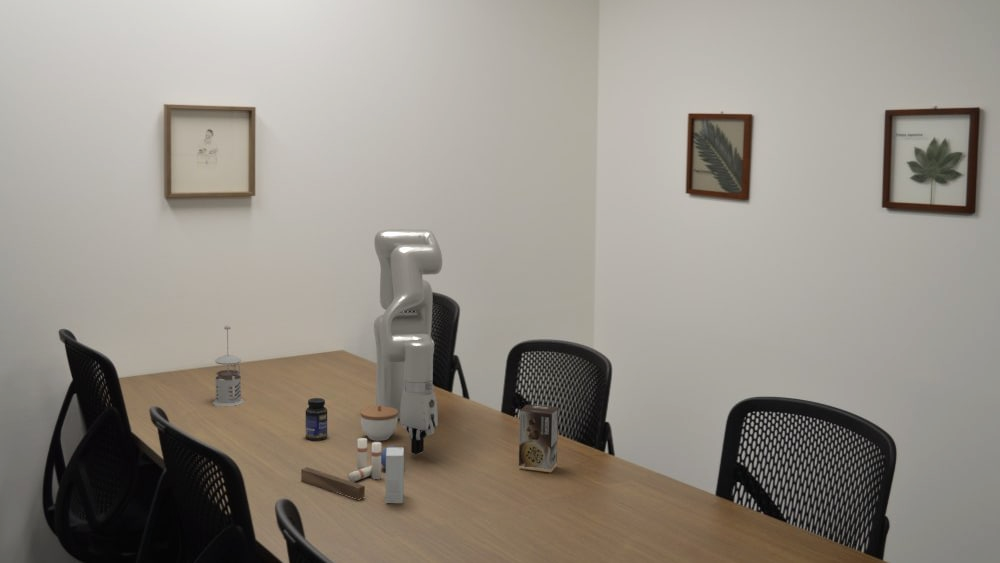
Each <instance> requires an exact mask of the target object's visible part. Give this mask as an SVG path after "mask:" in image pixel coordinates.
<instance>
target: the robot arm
mask: <svg viewBox="0 0 1000 563" xmlns="http://www.w3.org/2000/svg"><path fill="white" fill-rule="evenodd" d="M374 236H375V237H374V249H375V252H376V256H377V258H378V261H379V266H380V274H379V275H380V279H379V280H380V282H379V302H380V306H381V308H382V309H384V310H385V311H384V312H383V314H381V315H379V316H377V317H376V318H375V320H374V322H373V332H374V333H373V334H374V339H375V348H376V381H375V382H376V386H375V388H376V389H375V390H376V391H375V392H376V398H375V399H376V400H375V401H376V403H375V404H376V405H375V406H378V405H381V406H386V407H392V408H395V409H397V410H398V420H399V422H400V424H401V428H403V429H404V430H406V431H407V433H408V436H409V438H410V440H411V441H410V443H411V444H410V447H411V450H410V452H411V454H414V455H418V454H419V455H420V454H421V453H423V452H424V450H425V449H424V445H425V441H424V440H425V439H426V438H427V436H432V435H434V434H435V429H434V428H437V427H438V425H439V422H438V421H439V420H438V419H439V414H438V403H437V397H436V394H435V393H436V392H434V390H435V385H434V384H433V379H434V378H433V373H434V368H433V366H434V353H435V342H434V339H433V338H432V337H431V336H432V324H433V322H432V318H433V301H434V300H433V289H432V285H431V284H430V282H429V281H427V280H425V279H424V278H423V275H427V276H428V275H438V274H439V273H440V272H441V271H442V268H443V254H442V250H441V248H440V247H441V246H440V245H439V243H438V241H437V238H436V237H435V236H436V235H435V234H434V233H433V232H432V231H431V230H430V229H429V230H428V229H382V230H380V231H378V232H377V233H376V234H375V235H374ZM409 311H411V312H409ZM413 311H414V312H413ZM403 312H404V313H403ZM405 312H407V313H405ZM408 312H409V313H408ZM412 312H413V313H412Z"/></svg>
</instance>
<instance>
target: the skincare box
mask: <svg viewBox="0 0 1000 563" xmlns="http://www.w3.org/2000/svg"><path fill="white" fill-rule="evenodd" d="M386 448H387V447H386ZM404 462H405V449H404V447H397V448H387V449H386V468H385V504H386V503H403V504H404V498H405V497H404V495H405V494H404V492H405V491H404V488H405V485H404V484H405V483H404V481H405V480H404V479H405V478H404V476H405V470H404V468H405V467H404V466H405V463H404Z"/></svg>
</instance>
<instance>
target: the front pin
mask: <svg viewBox="0 0 1000 563" xmlns="http://www.w3.org/2000/svg"><path fill="white" fill-rule="evenodd" d="M347 476H348V481H351V482H354V483H356V482H357V481H361V480H363V479H366V478H368V477H372V464H371V465H367V467H365V468H362V469H359V470H355V471H352V472H349V473H348V475H347Z"/></svg>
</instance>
